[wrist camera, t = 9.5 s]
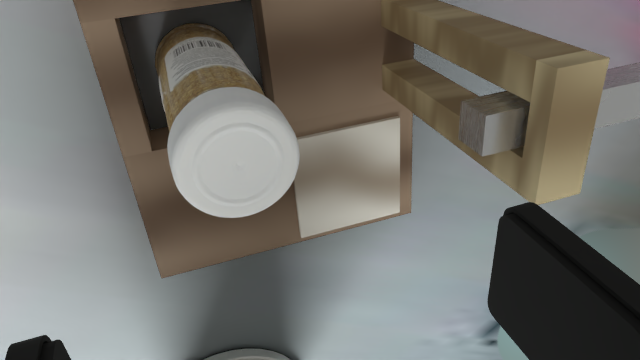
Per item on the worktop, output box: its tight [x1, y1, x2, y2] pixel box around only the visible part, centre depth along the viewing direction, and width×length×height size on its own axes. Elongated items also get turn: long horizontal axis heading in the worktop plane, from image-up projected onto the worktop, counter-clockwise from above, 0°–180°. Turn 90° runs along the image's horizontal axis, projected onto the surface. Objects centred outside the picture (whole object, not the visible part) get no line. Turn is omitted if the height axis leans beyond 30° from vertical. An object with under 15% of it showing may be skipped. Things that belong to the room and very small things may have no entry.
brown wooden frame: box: [73, 0, 610, 279], centre depth 23 cm, size 20×17×16 cm
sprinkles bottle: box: [155, 23, 300, 218], centre depth 23 cm, size 5×5×14 cm
